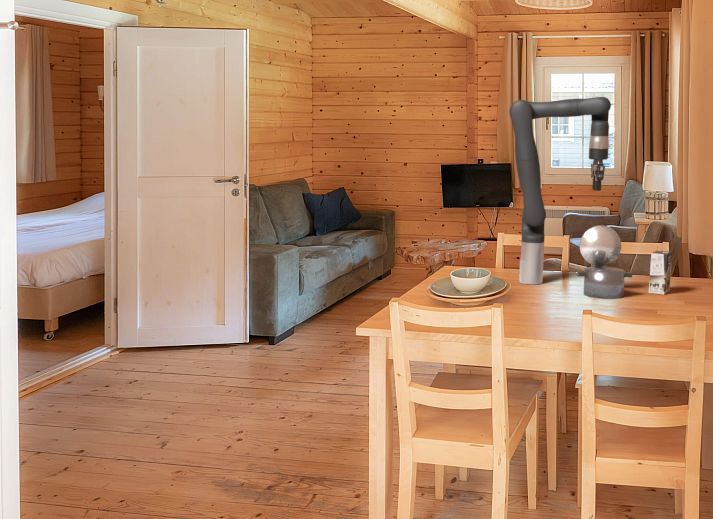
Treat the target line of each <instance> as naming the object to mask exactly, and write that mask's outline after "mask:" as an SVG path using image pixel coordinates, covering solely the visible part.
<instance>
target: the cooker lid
mask: <svg viewBox="0 0 713 519" xmlns="http://www.w3.org/2000/svg"><path fill="white" fill-rule="evenodd" d="M621 240H622V239H621V238H620V235H619V234H618V233H617V231H615V230H614V229H613V228H611V227H609V226H608V225H606V224H602V225H601V224H600V225H599V224H598V225H597V224H594V225H592V227H590V228H588V229H586V230H585V231H584V233H583V234H582V235H581V238H580V242H579V251H580V254H581V256H582V258H583V259H584V261H586V262H587V263H588V264H590V265H591V266H608V265H610V264H612V263H614V262H615V261H616V260H617V259H618V258H619V255H620V254H621V252H622V241H621Z"/></svg>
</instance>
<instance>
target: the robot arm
mask: <svg viewBox="0 0 713 519" xmlns="http://www.w3.org/2000/svg"><path fill="white" fill-rule="evenodd" d="M611 107H612V104H611V101H610V100H609V98H607V97H605V96H596V97H588V98H569V99H568V98H567V99H566V98H565V99H560V100H551V101H530V100H529V101H527V100H525V99H518V100H515V101H514V102H512V104H510V107H509V110H508V111H509V114H508V115H509V118H510V120H511V124H512V128H513V133H514V157H515V165H516V172H517V177H518V181H519V186H520V187H521V191H522V198H523V209H522V213H521V214H522V215H521V245H520V246H521V249H520V258H519V271H518V273H519V275H518V276H519V277H518V282H519V283H520V284H522V285H523V284H525V285H542V284H543V281H544V280H543V279H544V278H543V276H544V256H545V222H546V221H545V220H546V218H547V212H546V208H545V204H544V201H543V200H544V199H543V195H542V189H541V188H542V186H541V184H542V183H541V167H540V158H539V152H538V149H537V144H536V140H535V136H534V131H533V130H534V129H533V120H536V119H540V118H542V119H544V118H573V117H583V116H591V124H590V136H589V146H588V159H589V160H593V162H592V163H591V164H590V173H591V174H590V178H591V180H592V188H591V189H592V190H593V191H595V192H596V191H598V192H600V191H602V182H603V181H604V176H605V168H606V165H604V160H608V159H609V147H610V146H609V145H610V143H609V142H610V140H609V139H610V138H609V135H610V134H609V131H610V125H609V123H610V122H609V117H610V116H609V115H610V114H609V113H610V110H611Z"/></svg>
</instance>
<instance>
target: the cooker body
mask: <svg viewBox="0 0 713 519" xmlns="http://www.w3.org/2000/svg"><path fill="white" fill-rule="evenodd" d="M576 276H577V277H581V278H582V277H583V292H582V293H583V296H585V297H590V298H594V299H603V300H611V299H612V300H614V299H621V298H623V297H624V292H625V291H624V290H625V289H624V288H625V278H633V272H631V271H625V269H623V268H620V267H619V268H618V267H612V266H608V265H606V266H595V265H590V266H587V267H585V268H584V271H583V270H582V271H581V270H577V271H576Z"/></svg>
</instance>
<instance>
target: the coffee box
mask: <svg viewBox="0 0 713 519" xmlns="http://www.w3.org/2000/svg"><path fill="white" fill-rule="evenodd" d="M650 256H651V257H650V264H649V265H650V267H649V281H648V282H649V284H648V293H649V294H656V295H667V294H668V293H670V291H671V278H672V277H671V276H672V262H673V251H670V250H669V251H668V250H655V251H653V252H651V254H650Z"/></svg>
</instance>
